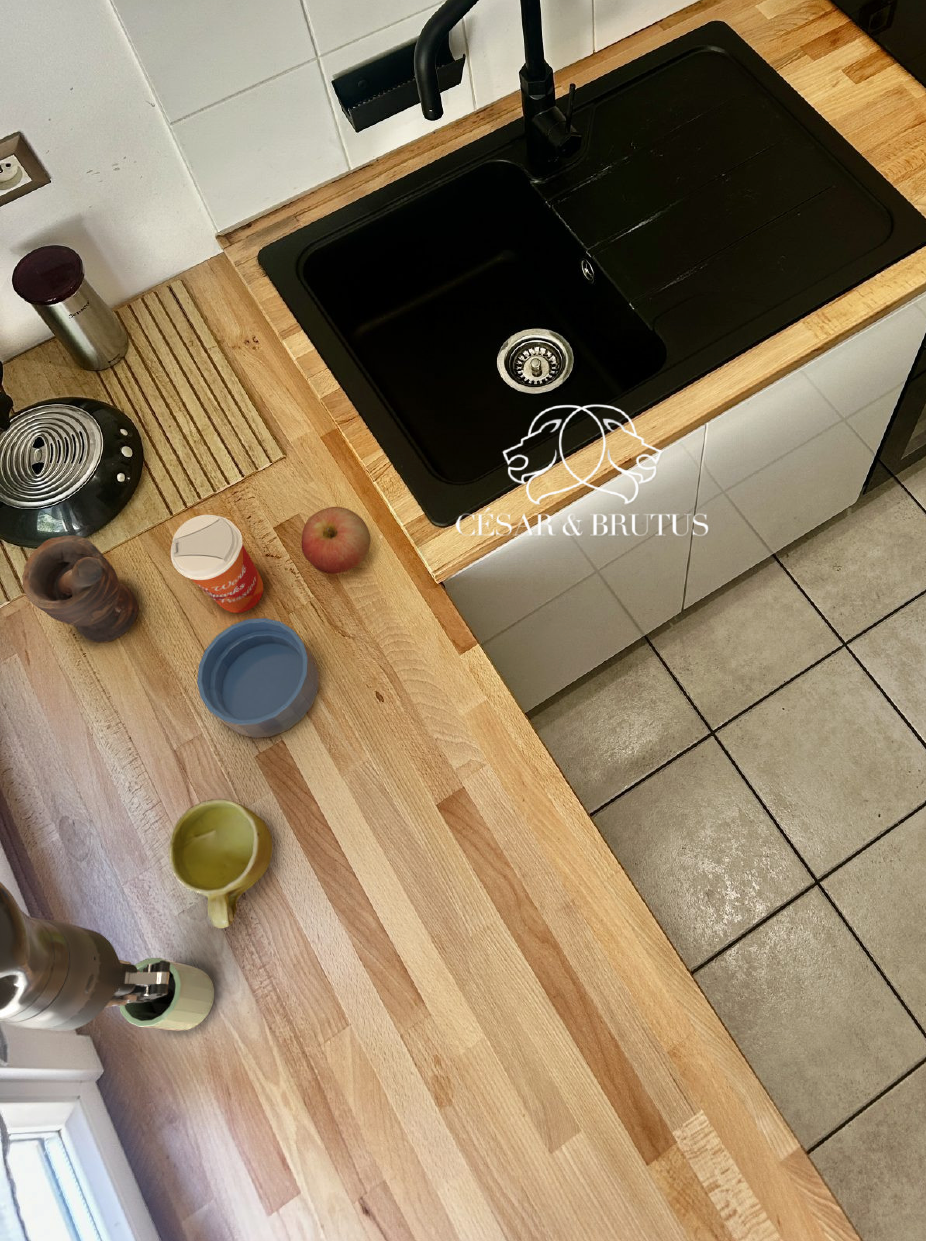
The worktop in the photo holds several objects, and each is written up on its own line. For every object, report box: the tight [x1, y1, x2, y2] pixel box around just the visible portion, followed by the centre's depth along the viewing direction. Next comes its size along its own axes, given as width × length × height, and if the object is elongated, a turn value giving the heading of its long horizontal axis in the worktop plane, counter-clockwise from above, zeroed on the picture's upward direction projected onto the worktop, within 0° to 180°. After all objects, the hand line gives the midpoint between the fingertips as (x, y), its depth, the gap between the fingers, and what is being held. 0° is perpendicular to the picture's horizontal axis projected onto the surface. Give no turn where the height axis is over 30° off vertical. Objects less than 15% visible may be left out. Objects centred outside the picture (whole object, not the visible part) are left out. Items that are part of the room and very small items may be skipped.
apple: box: [301, 506, 372, 575], centre depth 135 cm, size 8×8×8 cm
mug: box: [167, 798, 273, 929], centre depth 118 cm, size 12×10×10 cm
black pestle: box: [147, 977, 176, 1016], centre depth 107 cm, size 4×4×17 cm
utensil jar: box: [118, 957, 215, 1032], centre depth 111 cm, size 6×6×10 cm
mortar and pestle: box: [21, 535, 139, 643], centre depth 127 cm, size 12×9×20 cm
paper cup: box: [170, 514, 264, 614], centre depth 130 cm, size 8×8×14 cm
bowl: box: [196, 617, 320, 739], centre depth 128 cm, size 12×12×6 cm
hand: (132, 990), depth 104 cm, fingers closed on black pestle, 1 cm apart
